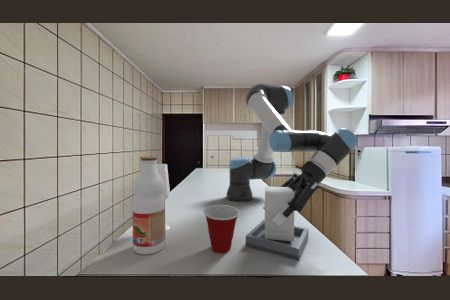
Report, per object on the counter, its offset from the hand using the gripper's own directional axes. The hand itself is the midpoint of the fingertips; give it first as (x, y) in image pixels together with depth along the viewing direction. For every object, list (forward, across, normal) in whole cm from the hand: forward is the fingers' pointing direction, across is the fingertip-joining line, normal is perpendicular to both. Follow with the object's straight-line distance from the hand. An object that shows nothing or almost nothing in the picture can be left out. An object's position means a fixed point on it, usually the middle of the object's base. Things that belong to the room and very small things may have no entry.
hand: (269, 216), depth 69 cm
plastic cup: (+17, -3, +5) cm, 18 cm away
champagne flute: (+33, +14, +20) cm, 41 cm away
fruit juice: (+33, -1, +21) cm, 39 cm away
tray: (+4, 0, -8) cm, 9 cm away
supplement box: (+2, 0, -6) cm, 7 cm away
